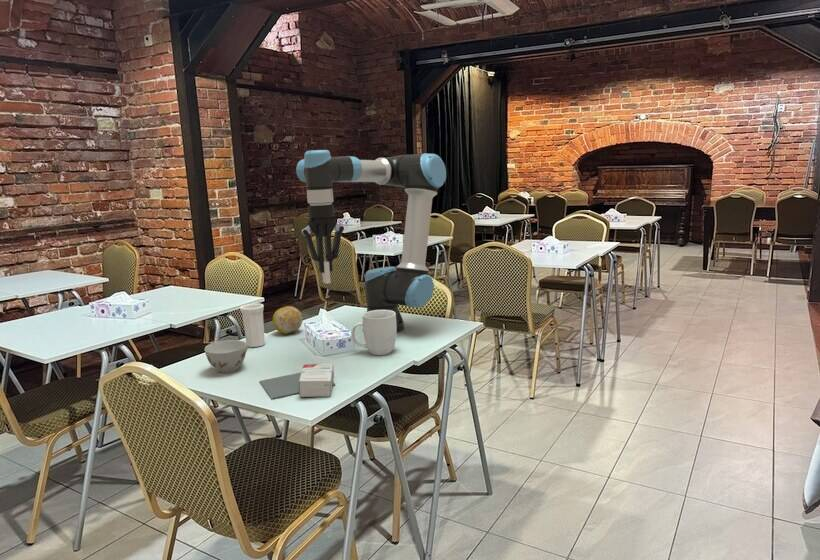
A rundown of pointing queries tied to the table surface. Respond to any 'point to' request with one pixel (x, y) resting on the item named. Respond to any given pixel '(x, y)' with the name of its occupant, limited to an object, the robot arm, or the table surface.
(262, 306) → the cup
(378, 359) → the table surface
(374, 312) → the mug
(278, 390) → the mat
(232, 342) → the teacup
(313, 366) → the ink box
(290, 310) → the fruit
